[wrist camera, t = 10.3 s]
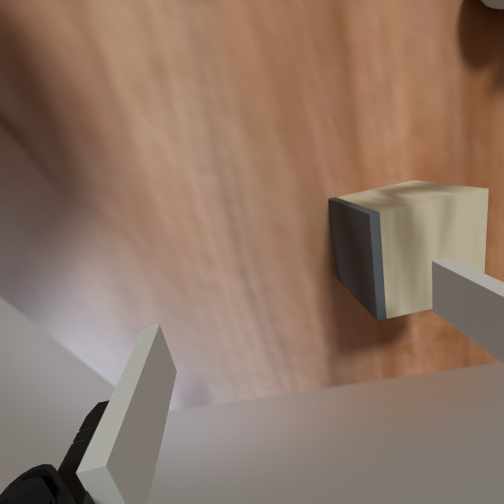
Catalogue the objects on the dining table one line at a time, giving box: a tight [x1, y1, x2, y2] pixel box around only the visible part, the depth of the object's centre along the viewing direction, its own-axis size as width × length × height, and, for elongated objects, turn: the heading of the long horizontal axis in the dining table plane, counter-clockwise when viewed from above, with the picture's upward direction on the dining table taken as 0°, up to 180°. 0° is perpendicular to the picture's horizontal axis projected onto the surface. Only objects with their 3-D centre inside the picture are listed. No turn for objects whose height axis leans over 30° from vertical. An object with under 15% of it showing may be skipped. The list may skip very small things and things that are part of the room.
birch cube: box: [329, 180, 488, 321], centre depth 21 cm, size 7×7×7 cm
